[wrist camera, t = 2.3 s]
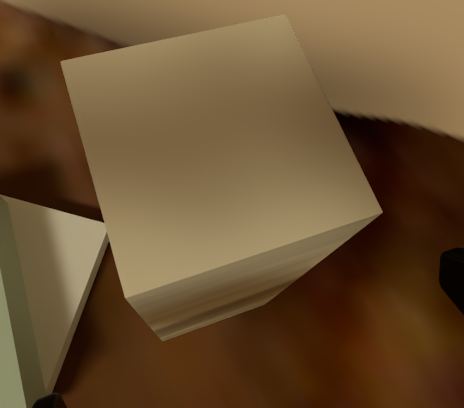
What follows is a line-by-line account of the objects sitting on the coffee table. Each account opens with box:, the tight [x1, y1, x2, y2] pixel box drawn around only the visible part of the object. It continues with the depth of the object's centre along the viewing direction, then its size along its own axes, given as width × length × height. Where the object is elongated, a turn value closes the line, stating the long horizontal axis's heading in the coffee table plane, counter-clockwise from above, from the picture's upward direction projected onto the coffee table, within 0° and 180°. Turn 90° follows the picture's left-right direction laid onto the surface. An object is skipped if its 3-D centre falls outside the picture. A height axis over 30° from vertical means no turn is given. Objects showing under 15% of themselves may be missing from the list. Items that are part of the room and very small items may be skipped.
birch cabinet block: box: [60, 14, 383, 341], centre depth 15 cm, size 6×5×13 cm
